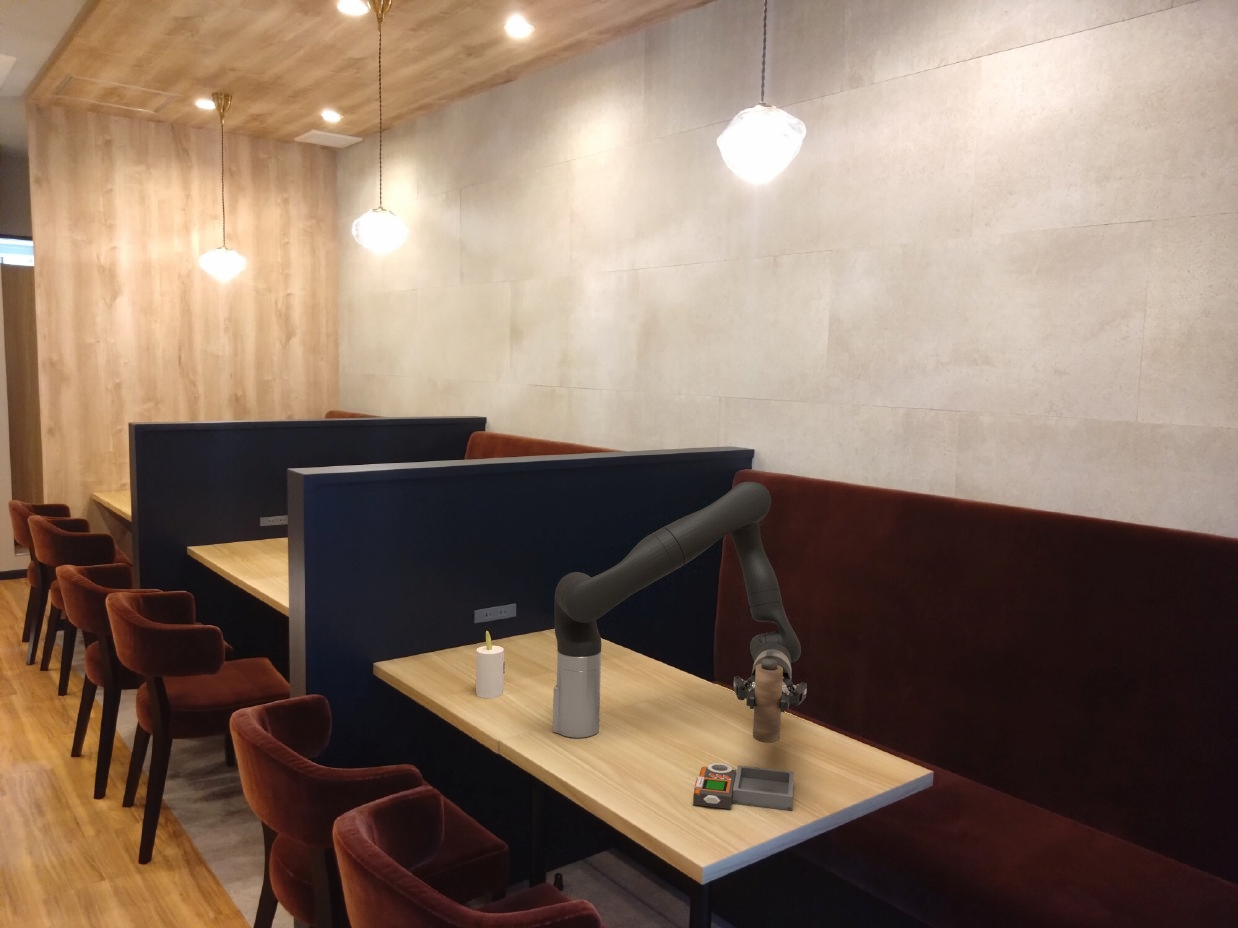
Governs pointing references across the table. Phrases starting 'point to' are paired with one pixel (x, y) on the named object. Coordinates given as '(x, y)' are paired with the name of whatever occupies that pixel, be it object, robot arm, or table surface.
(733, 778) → the electronic device
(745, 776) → the tray
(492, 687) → the candle
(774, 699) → the pepper mill
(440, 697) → the table surface
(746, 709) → the table surface
